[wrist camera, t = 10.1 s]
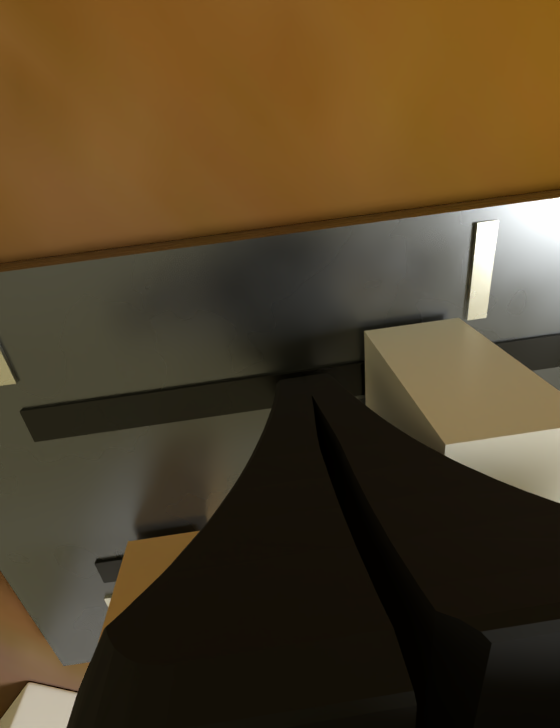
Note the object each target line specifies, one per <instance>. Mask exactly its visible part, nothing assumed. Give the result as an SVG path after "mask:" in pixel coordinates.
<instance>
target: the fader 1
mask: <svg viewBox="0 0 560 728" xmlns="http://www.w3.org/2000/svg"><path fill="white" fill-rule="evenodd" d="M198 533H199V531H194V532H188V533H181V534H174V535H168V536H161V537H154V538H148V539H141V540H135V541H128V543H127V546H126V550H125V553H124V556H123V560H122V563H121V567H120V570H119V573H118V577H117V580H116V584H115V587H114V590H113V594H112V597H111V600H110V604H109V607H108V611H107V614H106V617H105V621H104V624H103V628H102V631H101V634H100V637H101V635H102V633H103V630H104V628H105V627H106V626H107V625H108V624H110V623H111V622H112V621H113V620H114V619H115V618H116V617H117V616H118V615H120V614H121V613H122V612H123V611H124V610H125V609H126V608H127V607H128V606H129V605H130V604H131V603H132V602H133V601H134V600H135V599H136V598H137V597H138V596H139V595H140V594H141V593H142V592H144V591H145V590H146V589H147V588H148V587H149V586H150V585H151V584H152V583H153V582H154V581H155V580H156V579H157V578H158V577H159V576H160V575H161V574H162V573H163V572H164V571H165V570H166V569H167V568H168V567H169V566H170V565H171V564H172V562H173V561H174V560H175V559H176V558H177V557H178V555H179V554H180V553H181V552H182V551H183V550H184V549H185V547H186V546H187V545H188V544H189V543H190V542H191V541H192V539H193V538H194V537H195V536H196V535H197V534H198ZM99 640H100V638H99ZM98 642H99V641H98Z"/></svg>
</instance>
